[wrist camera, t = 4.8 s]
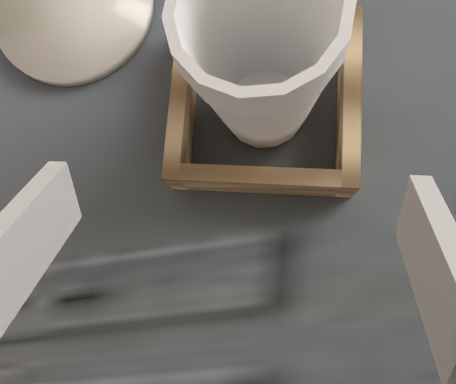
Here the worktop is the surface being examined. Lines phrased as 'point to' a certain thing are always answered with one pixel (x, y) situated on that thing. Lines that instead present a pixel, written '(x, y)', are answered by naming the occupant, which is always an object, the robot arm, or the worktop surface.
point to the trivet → (72, 37)
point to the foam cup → (259, 58)
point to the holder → (261, 175)
